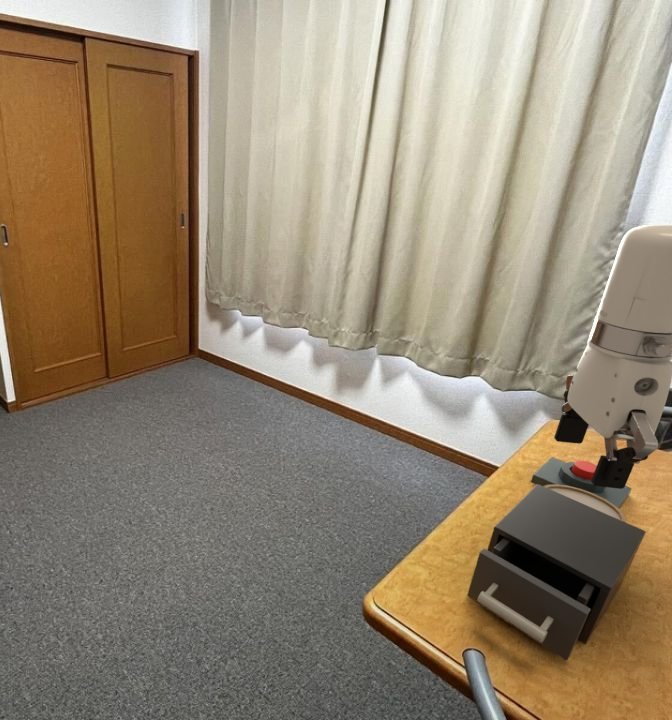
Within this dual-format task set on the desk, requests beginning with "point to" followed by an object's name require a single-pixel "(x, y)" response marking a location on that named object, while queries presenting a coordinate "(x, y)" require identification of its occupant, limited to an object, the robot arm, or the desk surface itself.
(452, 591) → the desk surface
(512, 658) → the desk surface
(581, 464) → the button
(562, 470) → the panel
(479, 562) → the drawer
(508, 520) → the cabinet
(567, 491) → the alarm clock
